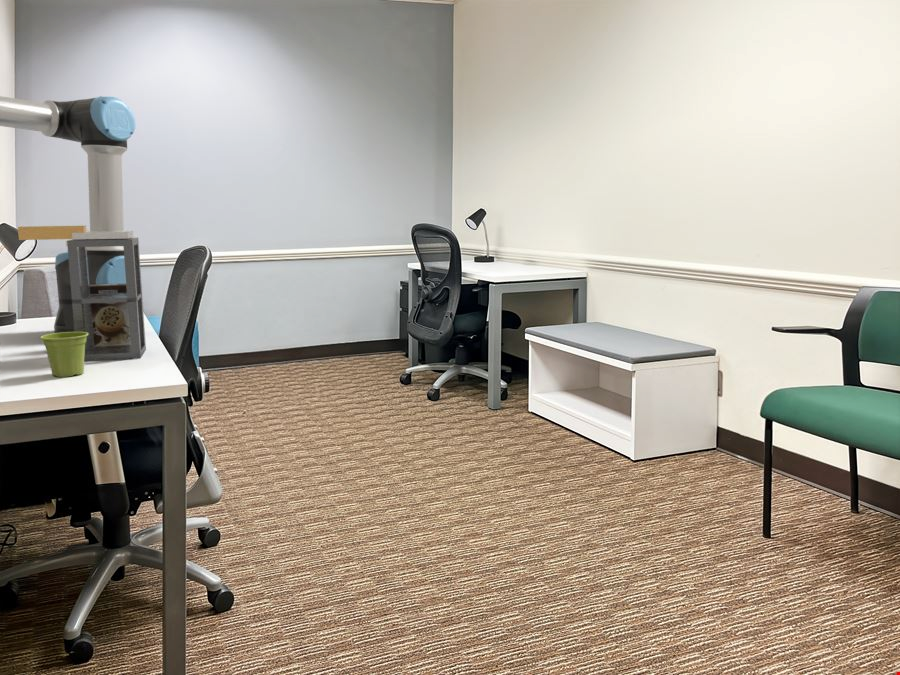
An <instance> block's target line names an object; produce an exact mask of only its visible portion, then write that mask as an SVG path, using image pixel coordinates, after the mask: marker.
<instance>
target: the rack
mask: <svg viewBox="0 0 900 675" xmlns="http://www.w3.org/2000/svg"><path fill="white" fill-rule="evenodd" d="M139 244H140V242H139V237H132V238H128V239H75V240H73V239H67V240H66V241H65V247H67V252H68V259H69V271H70V283H71V295H72V307H73V320H74V332H87V333H88V336H87V339H86V343H85V356H84V362H93V361H95V362H97V361H108V360H111V361H113V360H114V361H116V360H131V359H130V358H136V359H141V358H142V357H143V355H144V354H145V352H146V350H147V346H146V331H145V317H144V316H145V314H144V301H143V300H144V299H143V287H142V273H141V272H142V271H141V259H140V245H139ZM106 246H124V260H125V274H126V288H127V293H106V294H90V285H89V273H88V260H87V247H106ZM113 302H128V316H129V330H130V344H131V345H113V346H94V336H93V323H92V311H91V303H113ZM128 358H129V359H128ZM115 359H116V360H115Z"/></svg>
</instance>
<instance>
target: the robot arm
mask: <svg viewBox="0 0 900 675" xmlns="http://www.w3.org/2000/svg"><path fill="white" fill-rule="evenodd" d="M0 127H6V128H13V129H19V130H27V131H34V132H41V134H42V135H44V136H45V137H50V138H56V139H62V140H66V141H71V142H77V143H80V147H81V149H83V151H84V152H85V153H86V154H87V173H88V174H87V178H88V179H87V180H88V181H87V182H88V208H89V209H88V210H89V232H90V231H125V230H124V228H125V227H124V224H125V223H124V197H123V196H124V193H123V192H124V190H123V166H122V165H123V163H122V162H123V161H122V159H123V158H122V157H123V154H125V152H127V151H128V140H129V139H130V138H131V137H132V135H133V134H134V132H135V130H136V119H135V116H134V113H133V111H132V110H131V108H130V107H129V106H128V105H127V103H126V102H125V101H123V100H122V99H120V98H118V97H114V96H103V95H102V96H101V95H100V96H96V97H91V98H85V99H76V100H68V101H56V100H50V99H48V100H45V101H43V102H38V101H32V100H26V99H21V98H14V97H8V96H2V95H0ZM54 260H55V262H54V263H55V266H54V269H55V275H56V285H57V298H58V310H57V312H56V313H57V314H56V317H55V320H54V325H53V330H54V333H62V332H74V320H73V307H72V295H71V283H70V271H69V259H68V251H67V252H59V253H58V254H57V255H56V256H55V259H54ZM87 260H88V273H89V285H93V284H126V274H125V260H124V246H106V247H87Z"/></svg>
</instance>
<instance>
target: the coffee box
mask: <svg viewBox="0 0 900 675" xmlns="http://www.w3.org/2000/svg"><path fill="white" fill-rule="evenodd" d="M106 293H127V288H126V284H93V285H90V294H106ZM91 311H92V323H93V336H94V346H113V345H131V344H130V330H129V316H128V302H113V303H91Z"/></svg>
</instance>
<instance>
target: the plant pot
mask: <svg viewBox="0 0 900 675" xmlns="http://www.w3.org/2000/svg"><path fill="white" fill-rule="evenodd" d="M87 336H88V333H87V332H62V333H55V332H54V333H47V334H44V335H41V336H40V337H39V338H40V339H41V341H42V342H43V346H44V347H45V351H46V354H47V357H48V361H49V366H50V370H51V374H52V376H53V377H58V378H64V377H65V378H67V377H73V376H75V375H79V376H80V375H82V374H84V371H85V361H84V356H85V343H86V339H87Z"/></svg>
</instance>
